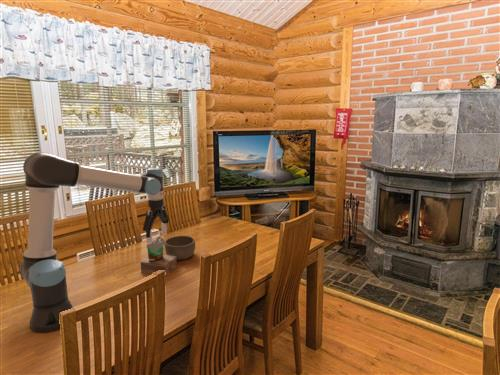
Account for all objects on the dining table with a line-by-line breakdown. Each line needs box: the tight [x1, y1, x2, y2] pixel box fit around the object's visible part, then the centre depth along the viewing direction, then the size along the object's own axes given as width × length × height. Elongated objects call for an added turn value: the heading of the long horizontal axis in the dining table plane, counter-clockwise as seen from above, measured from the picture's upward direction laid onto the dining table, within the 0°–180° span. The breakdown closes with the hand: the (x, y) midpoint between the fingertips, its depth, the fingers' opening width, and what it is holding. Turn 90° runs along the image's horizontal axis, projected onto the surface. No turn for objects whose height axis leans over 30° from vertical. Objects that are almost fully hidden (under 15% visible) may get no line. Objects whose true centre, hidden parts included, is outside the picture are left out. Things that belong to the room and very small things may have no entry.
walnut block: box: [140, 254, 178, 276], centre depth 176 cm, size 12×14×6 cm
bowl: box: [164, 235, 196, 261], centre depth 193 cm, size 17×18×10 cm
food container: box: [146, 236, 165, 262], centre depth 175 cm, size 12×6×10 cm, turn 168°
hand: (157, 239), depth 173 cm, fingers open, 13 cm apart
